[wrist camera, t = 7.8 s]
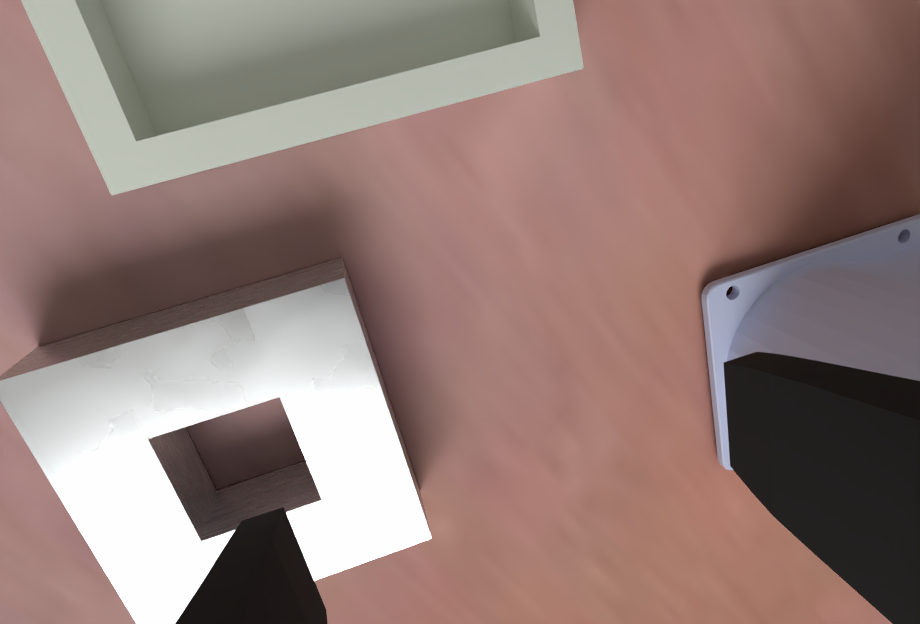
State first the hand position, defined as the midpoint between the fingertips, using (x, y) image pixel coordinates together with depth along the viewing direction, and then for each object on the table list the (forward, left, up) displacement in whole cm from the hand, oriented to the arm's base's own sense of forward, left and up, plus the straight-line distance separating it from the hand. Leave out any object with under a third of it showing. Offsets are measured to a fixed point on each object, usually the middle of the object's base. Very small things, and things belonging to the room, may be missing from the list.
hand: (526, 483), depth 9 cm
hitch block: (+7, +3, -10) cm, 13 cm away
